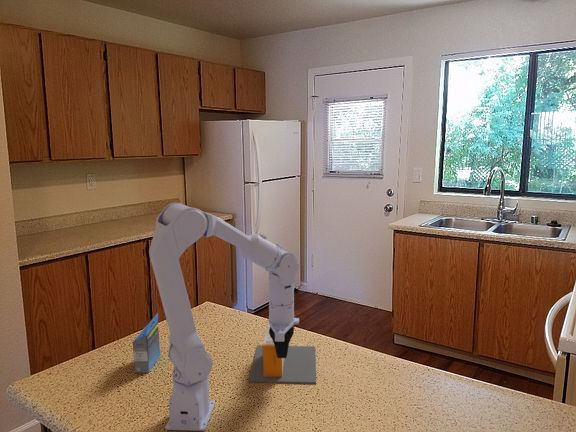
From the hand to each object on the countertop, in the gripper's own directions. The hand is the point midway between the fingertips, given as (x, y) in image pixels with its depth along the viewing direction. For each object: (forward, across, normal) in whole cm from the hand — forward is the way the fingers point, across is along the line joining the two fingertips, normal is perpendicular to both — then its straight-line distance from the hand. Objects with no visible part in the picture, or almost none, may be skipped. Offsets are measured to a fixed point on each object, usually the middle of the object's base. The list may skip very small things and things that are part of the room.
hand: (282, 356), depth 101 cm
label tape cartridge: (+7, +7, +35) cm, 36 cm away
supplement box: (+2, +1, +2) cm, 3 cm away
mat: (+6, +8, 0) cm, 11 cm away
